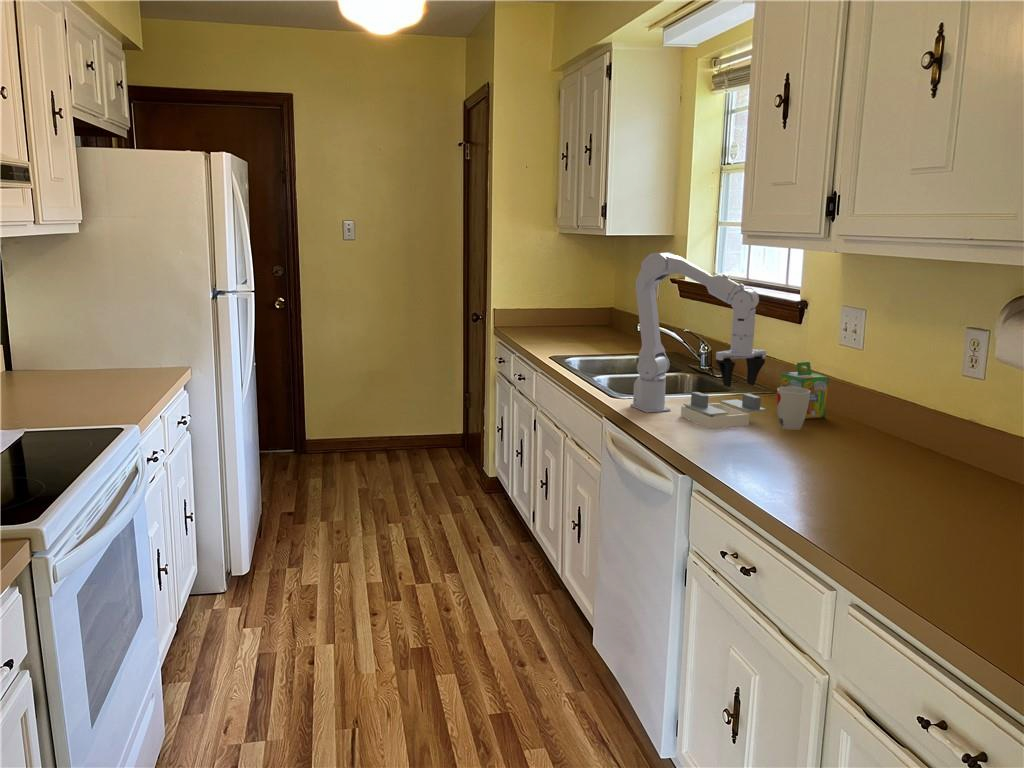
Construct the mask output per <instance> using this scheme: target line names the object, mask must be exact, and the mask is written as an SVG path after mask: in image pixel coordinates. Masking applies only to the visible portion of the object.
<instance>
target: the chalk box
mask: <svg viewBox="0 0 1024 768" xmlns="http://www.w3.org/2000/svg"><path fill="white" fill-rule="evenodd" d="M802 367H806V371H803V370H802ZM796 368H797V371H790V372H782V373H781V377H780V379H781V380H780V387H798V388H804V389H808V390H810V398H809V404H808V409H807V413H806V416H805V420H807V419H808V420H809V419H821V418H823V417H825V418H826V410H827V409H826V408H827V399H828V388H829V380H830V378H829V377H828V376H826V375H822V374H818V373H813V372H812V369H811V368H812V367H811V362H810V361H804V362H803V361H801V362H797V363H796ZM823 419H824V418H823Z"/></svg>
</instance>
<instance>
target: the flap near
mask: <svg viewBox="0 0 1024 768" xmlns="http://www.w3.org/2000/svg"><path fill="white" fill-rule="evenodd" d="M708 404H709V395H708V394H705V393H702V392H699V391H691V396H690V403H683V406H687V407H689V408H692V409H695V410H697V411H700V412H702V413H705V414H707V415H721V414H728V412H726V411H723V410H721V409H718V408H715V407H712V406H710V405H708Z"/></svg>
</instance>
